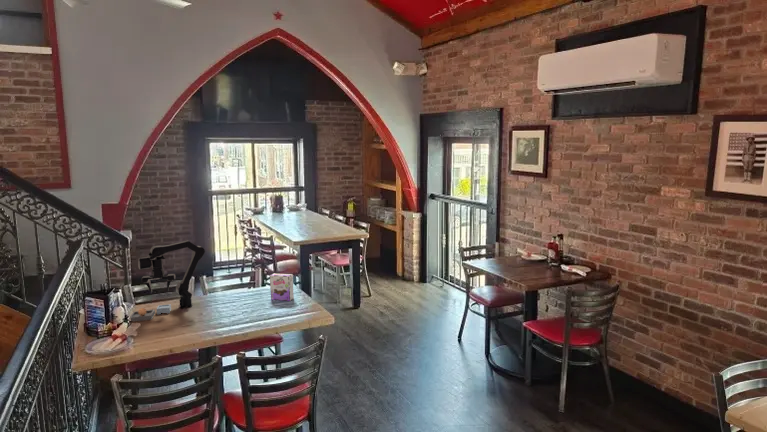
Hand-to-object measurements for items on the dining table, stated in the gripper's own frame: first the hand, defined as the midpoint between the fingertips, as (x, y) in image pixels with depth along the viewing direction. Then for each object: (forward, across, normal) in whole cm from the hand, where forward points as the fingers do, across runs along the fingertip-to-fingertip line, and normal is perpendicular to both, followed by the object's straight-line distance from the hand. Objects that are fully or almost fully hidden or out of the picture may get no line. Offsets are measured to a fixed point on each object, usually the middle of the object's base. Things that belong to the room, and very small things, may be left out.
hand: (159, 291), depth 321 cm
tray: (+12, +9, +10) cm, 18 cm away
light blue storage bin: (+12, -2, +3) cm, 13 cm away
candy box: (+12, -73, +1) cm, 74 cm away
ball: (+9, +9, +10) cm, 16 cm away
